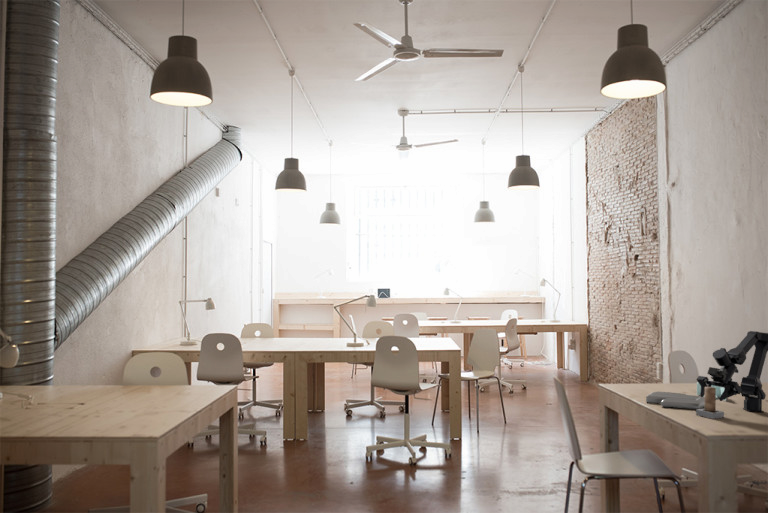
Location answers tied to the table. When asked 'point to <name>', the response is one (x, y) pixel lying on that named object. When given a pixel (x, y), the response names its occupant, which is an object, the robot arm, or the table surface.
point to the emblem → (676, 400)
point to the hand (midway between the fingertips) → (710, 398)
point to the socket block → (709, 414)
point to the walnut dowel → (710, 399)
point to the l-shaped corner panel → (718, 389)
